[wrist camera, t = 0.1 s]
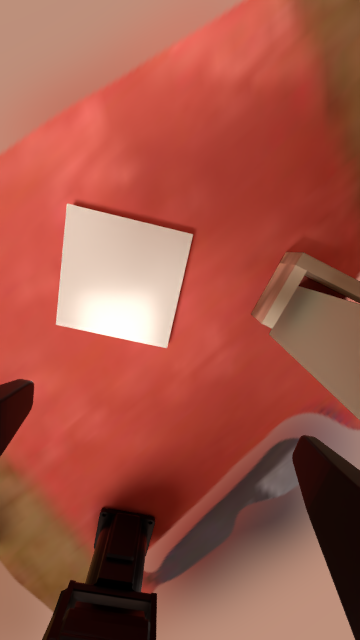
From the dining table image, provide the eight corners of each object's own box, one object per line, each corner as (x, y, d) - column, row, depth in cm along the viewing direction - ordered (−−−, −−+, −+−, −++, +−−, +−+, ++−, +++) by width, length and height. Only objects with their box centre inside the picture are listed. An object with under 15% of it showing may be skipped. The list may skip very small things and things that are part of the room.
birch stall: (341, 356, 23) (364, 371, 20) (250, 314, 22) (261, 323, 19) (381, 300, 22) (412, 308, 19) (285, 252, 21) (303, 252, 18)
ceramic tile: (167, 344, 23) (166, 348, 22) (61, 321, 22) (55, 324, 21) (192, 235, 20) (193, 234, 19) (72, 205, 20) (66, 203, 19)
